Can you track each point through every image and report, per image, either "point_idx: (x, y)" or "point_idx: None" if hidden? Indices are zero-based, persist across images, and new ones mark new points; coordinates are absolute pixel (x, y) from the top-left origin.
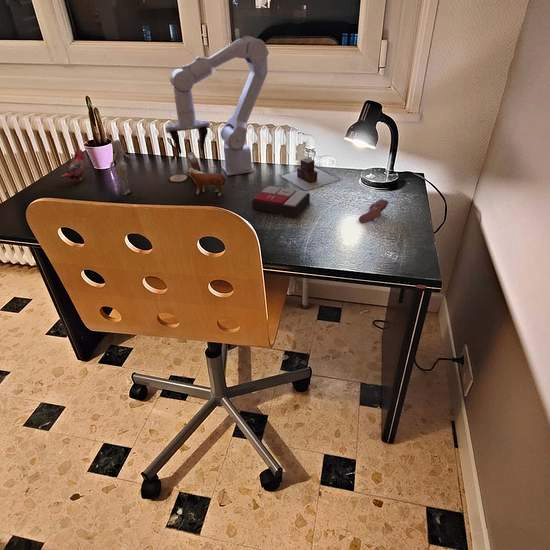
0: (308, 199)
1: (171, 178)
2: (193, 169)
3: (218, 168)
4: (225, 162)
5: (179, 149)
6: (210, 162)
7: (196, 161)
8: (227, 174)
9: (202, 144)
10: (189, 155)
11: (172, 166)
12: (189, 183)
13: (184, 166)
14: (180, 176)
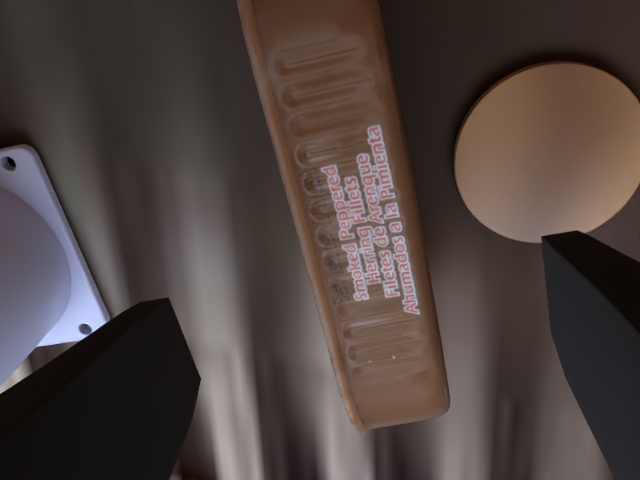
0: None
1: (631, 156)
2: None
3: None
4: (11, 283)
5: (599, 250)
6: (239, 455)
7: (267, 11)
8: (29, 151)
9: (90, 350)
10: (396, 291)
11: (581, 445)
12: (431, 12)
13: (469, 425)
14: (525, 192)
